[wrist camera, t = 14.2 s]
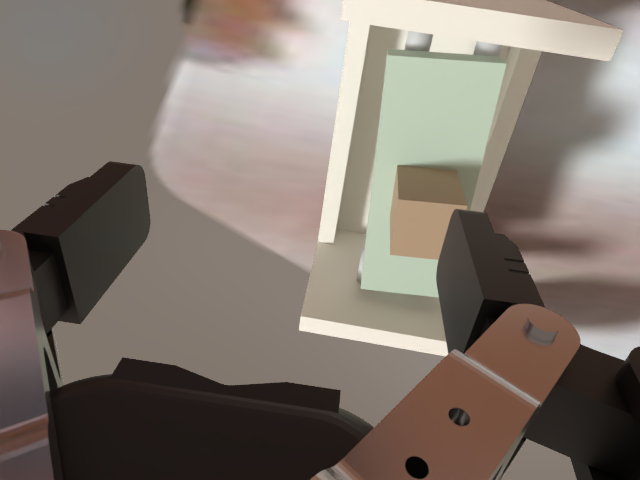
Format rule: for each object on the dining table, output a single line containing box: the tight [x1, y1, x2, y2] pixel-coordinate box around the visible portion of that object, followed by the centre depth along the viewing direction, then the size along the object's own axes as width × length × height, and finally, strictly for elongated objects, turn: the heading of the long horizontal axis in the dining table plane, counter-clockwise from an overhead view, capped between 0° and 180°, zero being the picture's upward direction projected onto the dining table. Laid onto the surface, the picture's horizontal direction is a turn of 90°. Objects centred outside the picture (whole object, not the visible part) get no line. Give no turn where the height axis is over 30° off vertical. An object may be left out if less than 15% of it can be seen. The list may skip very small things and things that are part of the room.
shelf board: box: [361, 49, 506, 297], centre depth 31 cm, size 18×7×7 cm, turn 178°
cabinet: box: [299, 0, 624, 356], centre depth 36 cm, size 14×24×15 cm, turn 173°
